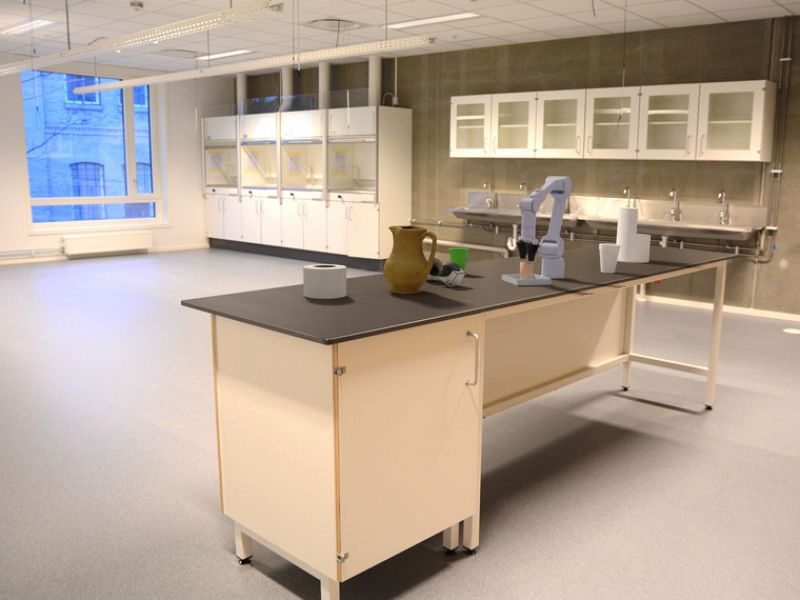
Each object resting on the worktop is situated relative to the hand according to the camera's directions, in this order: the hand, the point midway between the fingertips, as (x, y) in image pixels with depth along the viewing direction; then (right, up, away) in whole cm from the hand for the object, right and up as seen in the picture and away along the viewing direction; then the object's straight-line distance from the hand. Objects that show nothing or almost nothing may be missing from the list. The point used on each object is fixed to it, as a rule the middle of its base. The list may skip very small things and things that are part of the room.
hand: (526, 260), depth 306 cm
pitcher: (-50, -14, -28) cm, 59 cm away
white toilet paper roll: (-80, -15, -40) cm, 91 cm away
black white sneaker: (-36, -10, -5) cm, 37 cm away
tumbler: (0, -9, +1) cm, 9 cm away
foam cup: (+45, -4, +40) cm, 60 cm away
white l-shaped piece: (+71, +4, +88) cm, 113 cm away
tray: (0, -9, +1) cm, 9 cm away
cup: (-27, -5, +24) cm, 36 cm away
